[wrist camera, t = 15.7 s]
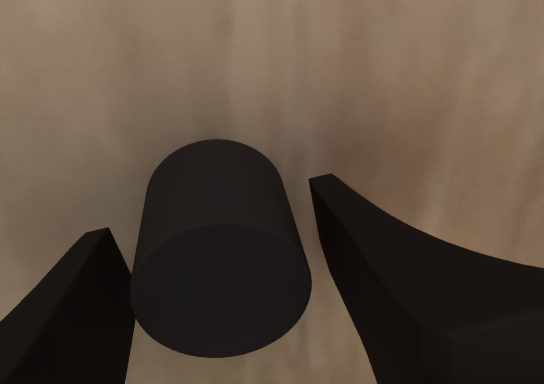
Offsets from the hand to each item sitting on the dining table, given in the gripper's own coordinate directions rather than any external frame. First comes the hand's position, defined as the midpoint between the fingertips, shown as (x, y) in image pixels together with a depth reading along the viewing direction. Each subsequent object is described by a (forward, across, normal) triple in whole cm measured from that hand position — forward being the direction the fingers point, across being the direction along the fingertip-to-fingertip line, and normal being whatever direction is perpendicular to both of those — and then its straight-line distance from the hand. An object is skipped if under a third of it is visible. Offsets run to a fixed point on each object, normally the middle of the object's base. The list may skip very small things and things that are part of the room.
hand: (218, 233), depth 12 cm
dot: (+2, 0, 0) cm, 2 cm away
